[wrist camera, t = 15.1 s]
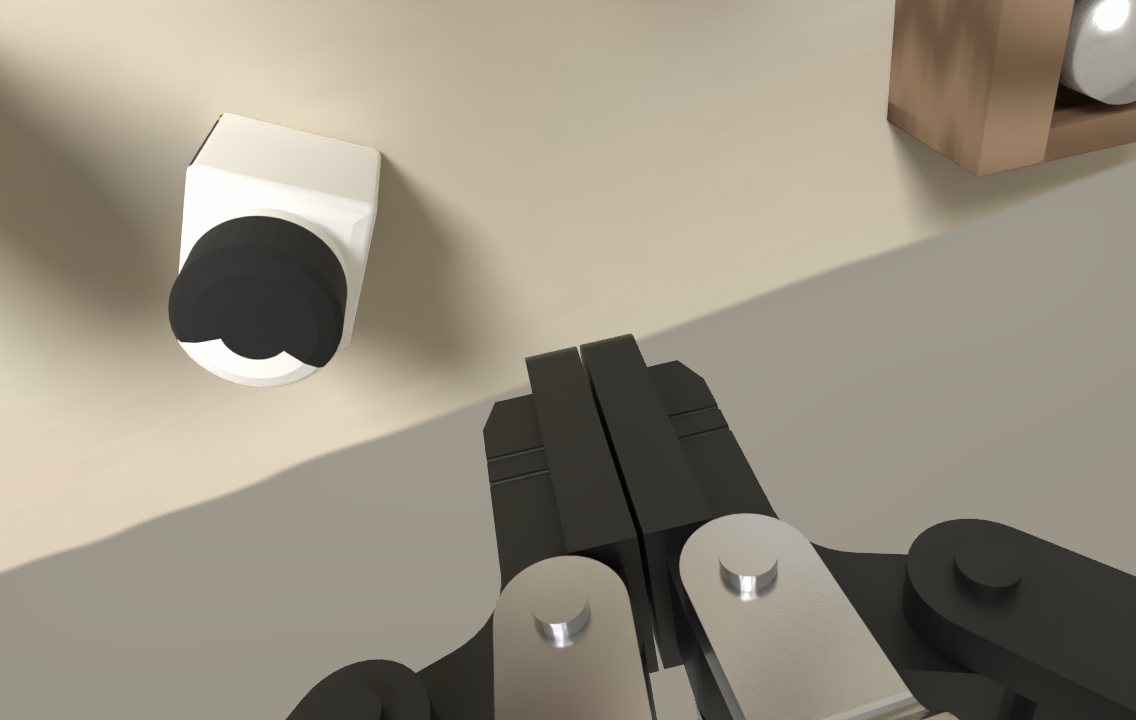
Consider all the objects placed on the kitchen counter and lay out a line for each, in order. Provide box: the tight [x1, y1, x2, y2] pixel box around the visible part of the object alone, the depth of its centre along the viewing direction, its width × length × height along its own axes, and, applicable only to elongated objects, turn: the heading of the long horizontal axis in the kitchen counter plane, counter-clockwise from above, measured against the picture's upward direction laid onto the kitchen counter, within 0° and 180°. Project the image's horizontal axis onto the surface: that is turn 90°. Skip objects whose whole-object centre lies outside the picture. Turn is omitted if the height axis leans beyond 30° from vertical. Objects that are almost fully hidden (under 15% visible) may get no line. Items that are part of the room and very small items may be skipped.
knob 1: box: [1058, 0, 1136, 105], centre depth 34 cm, size 5×5×5 cm
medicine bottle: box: [168, 113, 381, 387], centre depth 34 cm, size 7×7×12 cm
